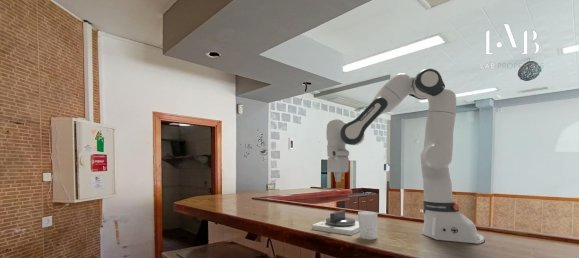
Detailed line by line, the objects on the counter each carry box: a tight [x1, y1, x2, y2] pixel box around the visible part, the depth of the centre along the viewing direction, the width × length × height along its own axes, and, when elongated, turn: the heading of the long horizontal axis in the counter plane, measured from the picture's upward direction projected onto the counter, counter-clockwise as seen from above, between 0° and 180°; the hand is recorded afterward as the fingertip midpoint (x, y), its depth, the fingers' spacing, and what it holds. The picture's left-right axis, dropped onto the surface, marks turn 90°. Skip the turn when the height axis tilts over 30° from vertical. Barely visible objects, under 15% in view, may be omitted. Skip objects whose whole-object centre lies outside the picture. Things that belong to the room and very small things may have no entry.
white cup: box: [357, 210, 378, 240], centre depth 118 cm, size 8×8×10 cm
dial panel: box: [311, 219, 360, 236], centre depth 134 cm, size 20×20×2 cm
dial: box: [325, 209, 356, 226], centre depth 134 cm, size 16×14×6 cm
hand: (338, 181), depth 135 cm, fingers closed
